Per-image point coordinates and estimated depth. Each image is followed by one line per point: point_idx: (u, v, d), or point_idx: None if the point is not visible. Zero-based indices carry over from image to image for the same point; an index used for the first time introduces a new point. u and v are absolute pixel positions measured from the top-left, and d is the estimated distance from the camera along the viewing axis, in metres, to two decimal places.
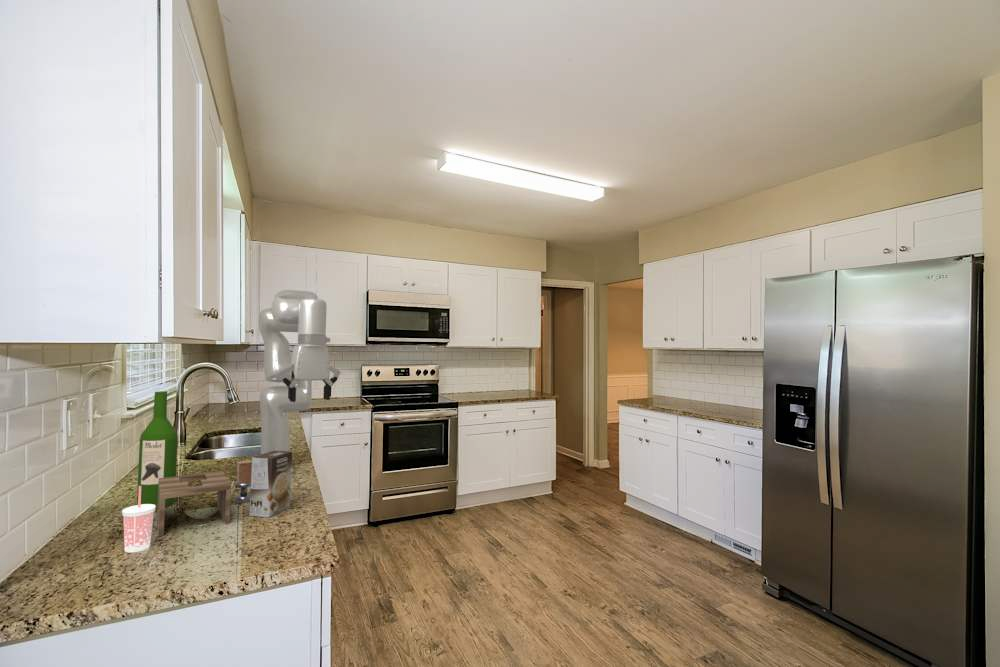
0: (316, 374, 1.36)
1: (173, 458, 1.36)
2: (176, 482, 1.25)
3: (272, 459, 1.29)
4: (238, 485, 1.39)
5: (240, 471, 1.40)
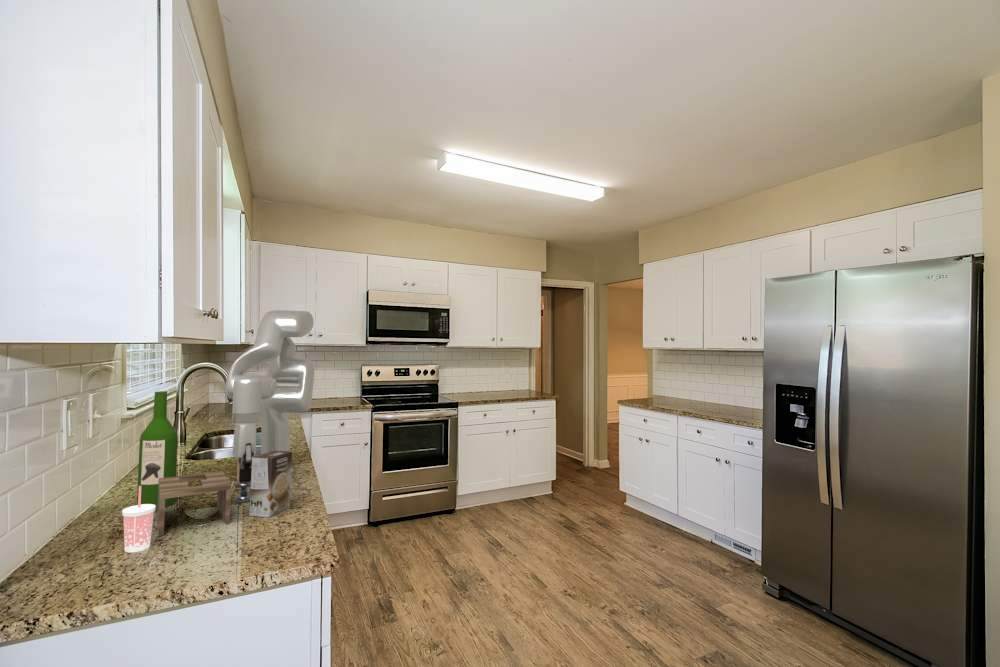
0: None
1: (173, 458, 1.36)
2: (176, 482, 1.25)
3: (272, 459, 1.29)
4: (238, 485, 1.39)
5: None
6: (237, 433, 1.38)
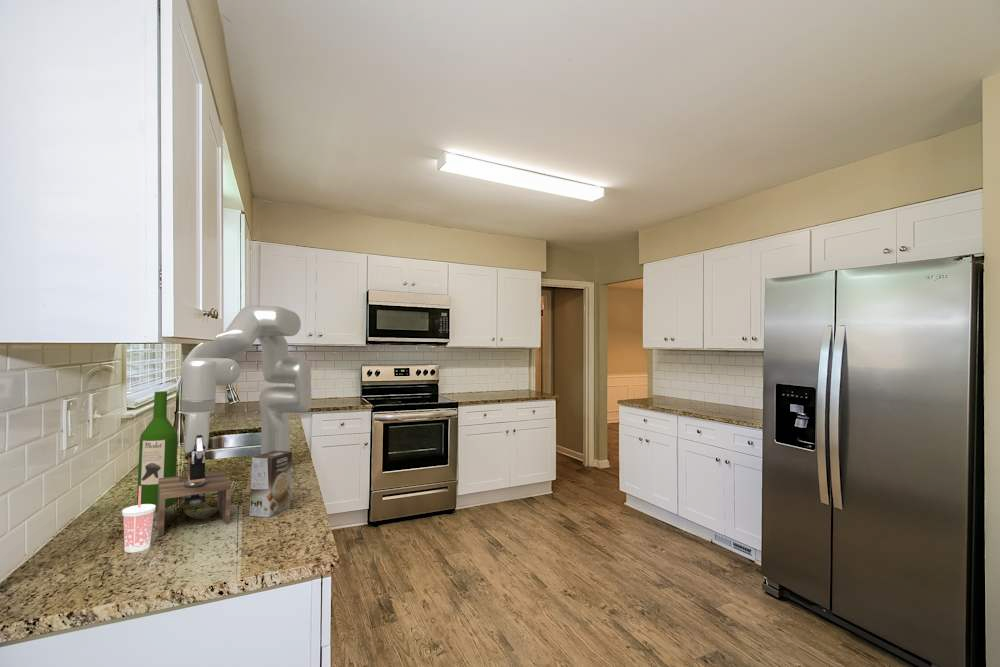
0: None
1: (173, 458, 1.36)
2: (176, 482, 1.25)
3: (272, 459, 1.29)
4: (188, 485, 1.20)
5: None
6: (186, 423, 1.19)
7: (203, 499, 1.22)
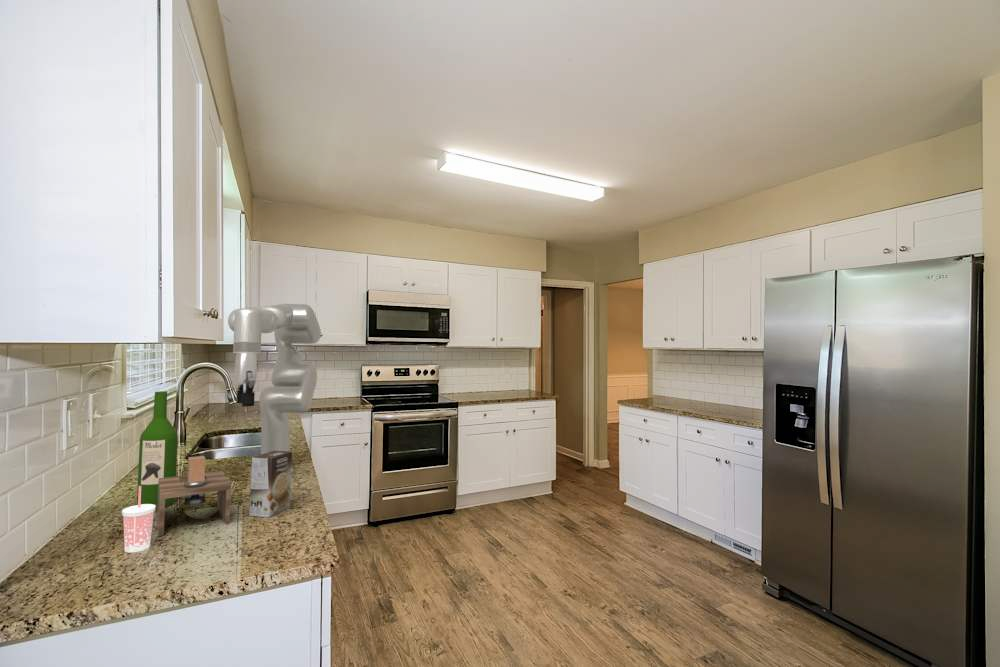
0: None
1: (173, 458, 1.36)
2: (176, 482, 1.25)
3: (272, 459, 1.29)
4: (188, 485, 1.20)
5: (190, 468, 1.20)
6: (238, 361, 1.41)
7: (203, 499, 1.22)
